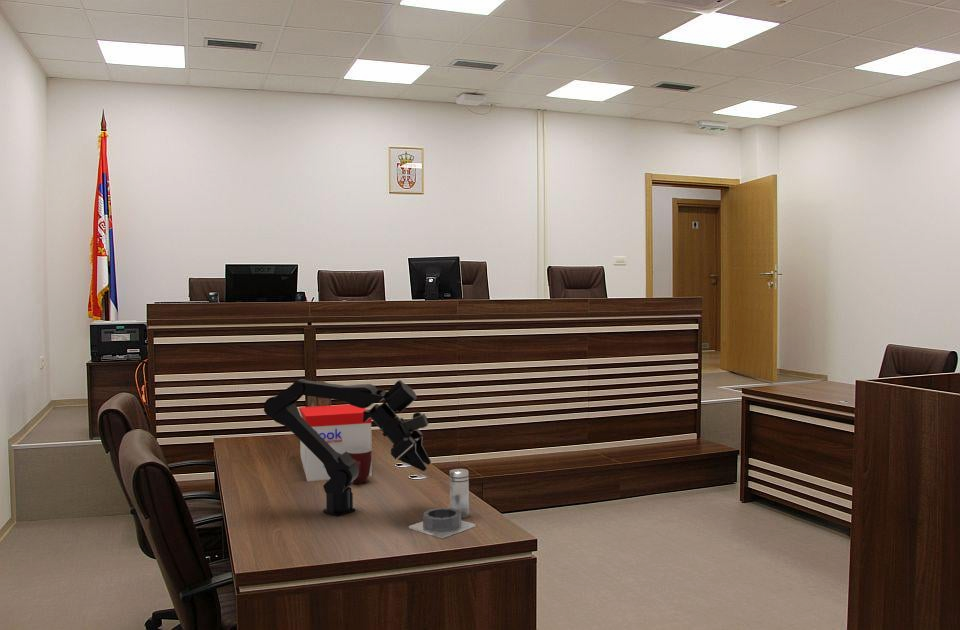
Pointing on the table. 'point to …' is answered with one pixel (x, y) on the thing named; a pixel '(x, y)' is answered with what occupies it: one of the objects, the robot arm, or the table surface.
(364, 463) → the mug
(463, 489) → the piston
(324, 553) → the table surface
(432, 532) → the ring sleeve
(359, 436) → the red-topped cereal carton
